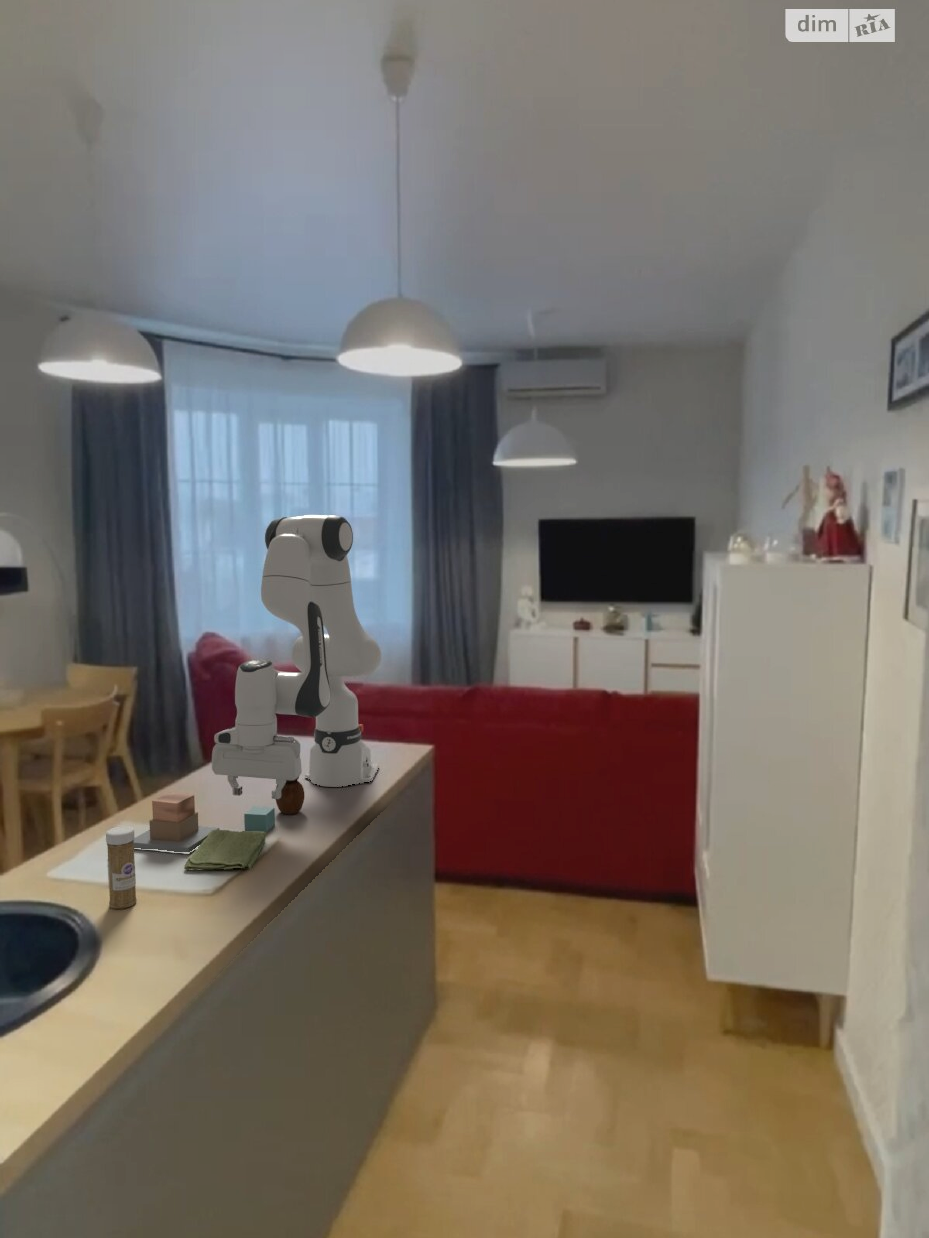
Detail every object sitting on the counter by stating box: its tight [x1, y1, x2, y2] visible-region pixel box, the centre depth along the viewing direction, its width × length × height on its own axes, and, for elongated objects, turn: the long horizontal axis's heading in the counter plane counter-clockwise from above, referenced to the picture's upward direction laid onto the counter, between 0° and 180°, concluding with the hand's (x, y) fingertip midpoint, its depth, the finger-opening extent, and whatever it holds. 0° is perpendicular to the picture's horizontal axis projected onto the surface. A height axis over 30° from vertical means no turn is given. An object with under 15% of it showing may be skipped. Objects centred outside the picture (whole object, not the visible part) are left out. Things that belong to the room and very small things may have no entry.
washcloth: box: [183, 829, 267, 870], centre depth 167 cm, size 13×18×3 cm
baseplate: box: [133, 811, 220, 852], centre depth 175 cm, size 12×14×6 cm
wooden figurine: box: [275, 776, 305, 815], centre depth 193 cm, size 7×6×15 cm
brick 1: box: [151, 792, 196, 822], centre depth 174 cm, size 6×6×4 cm
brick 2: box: [243, 806, 276, 833], centre depth 183 cm, size 5×5×4 cm
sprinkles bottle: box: [105, 825, 138, 910], centre depth 144 cm, size 5×5×14 cm
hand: (256, 796), depth 182 cm, fingers open, 8 cm apart
